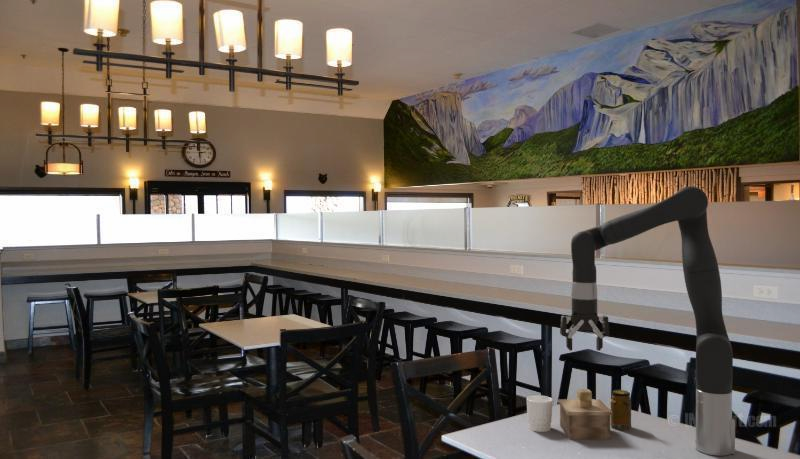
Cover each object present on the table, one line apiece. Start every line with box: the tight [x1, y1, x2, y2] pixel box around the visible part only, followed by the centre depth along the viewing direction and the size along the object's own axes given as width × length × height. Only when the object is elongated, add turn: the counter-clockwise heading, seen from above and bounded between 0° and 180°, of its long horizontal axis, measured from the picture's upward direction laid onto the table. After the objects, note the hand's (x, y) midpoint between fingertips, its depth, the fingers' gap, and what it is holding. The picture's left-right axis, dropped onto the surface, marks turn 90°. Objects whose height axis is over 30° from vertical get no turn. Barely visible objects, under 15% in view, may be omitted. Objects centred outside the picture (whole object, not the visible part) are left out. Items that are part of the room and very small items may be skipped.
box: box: [559, 405, 611, 440], centre depth 198 cm, size 12×12×8 cm
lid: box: [557, 388, 612, 416], centre depth 198 cm, size 13×13×6 cm
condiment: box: [610, 389, 632, 431], centre depth 202 cm, size 7×8×12 cm
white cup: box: [526, 394, 553, 433], centre depth 202 cm, size 8×8×10 cm
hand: (584, 350), depth 198 cm, fingers open, 8 cm apart
